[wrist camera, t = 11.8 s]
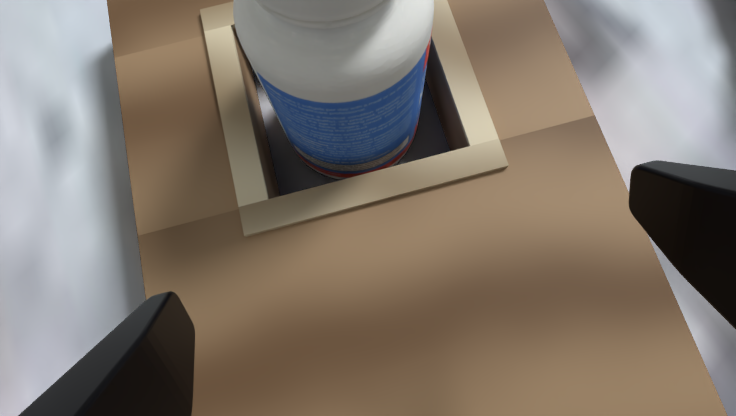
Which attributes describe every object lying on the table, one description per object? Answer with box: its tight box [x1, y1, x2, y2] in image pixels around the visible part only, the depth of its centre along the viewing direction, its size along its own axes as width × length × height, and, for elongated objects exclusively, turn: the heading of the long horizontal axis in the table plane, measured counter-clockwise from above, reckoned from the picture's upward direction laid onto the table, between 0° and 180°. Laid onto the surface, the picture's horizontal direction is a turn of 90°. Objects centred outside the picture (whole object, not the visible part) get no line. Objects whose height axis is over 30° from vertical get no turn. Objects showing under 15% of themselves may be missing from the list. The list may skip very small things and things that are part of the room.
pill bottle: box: [233, 0, 434, 180], centre depth 14 cm, size 6×5×10 cm
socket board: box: [107, 0, 727, 416], centre depth 16 cm, size 22×16×3 cm
